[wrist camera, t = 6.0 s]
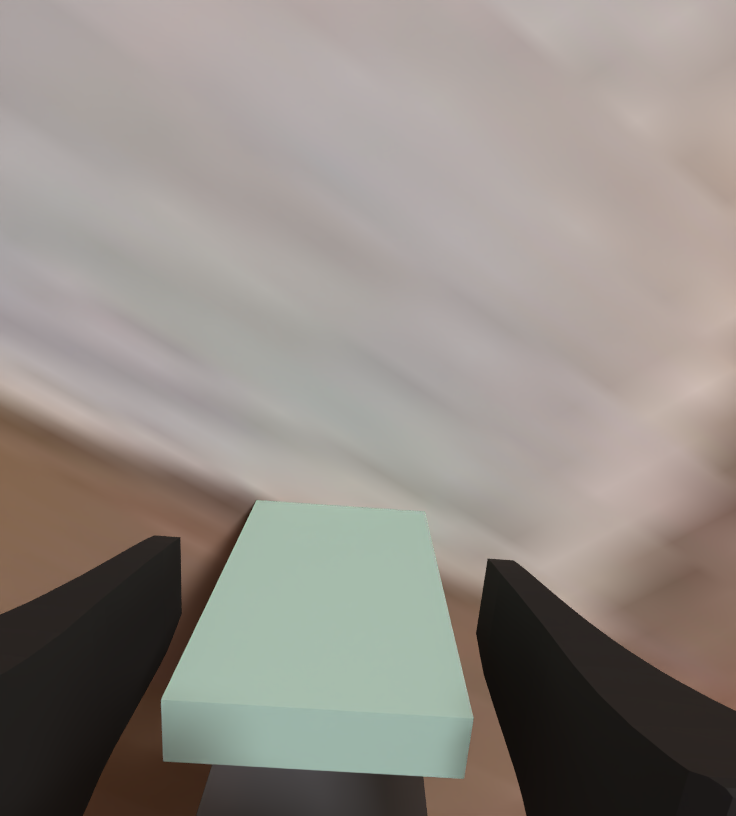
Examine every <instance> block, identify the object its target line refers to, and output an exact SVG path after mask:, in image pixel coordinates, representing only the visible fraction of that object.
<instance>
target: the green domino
mask: <svg viewBox="0 0 736 816" xmlns="http://www.w3.org/2000/svg"><path fill="white" fill-rule="evenodd" d="M161 716H162V743H163V761H165V762H182V763H200V764H217V765H234V766H252V767H269V768H286V769H304V770H321V771H338V772H356V773H373V774H390V775H408V776H425V777H442V778H460V779H464V775H465V769H466V763H467V756H468V750H469V744H470V738H471V731H472V725H473V719H474V718H473V714H472V710H471V706H470V701H469V697H468V693H467V689H466V684H465V680H464V676H463V672H462V667H461V663H460V659H459V655H458V651H457V646H456V642H455V638H454V634H453V629H452V625H451V621H450V617H449V612H448V608H447V604H446V600H445V595H444V591H443V587H442V583H441V579H440V574H439V570H438V566H437V562H436V557H435V553H434V549H433V545H432V540H431V536H430V532H429V528H428V523H427V519H426V515H425V512H421V511H406V510H392V509H377V508H363V507H348V506H333V505H319V504H304V503H289V502H275V501H260V500H256V502H255V504H254V507H253V509H252V511H251V513H250V515H249V517H248V519H247V521H246V523H245V525H244V527H243V529H242V532H241V534H240V536H239V538H238V540H237V542H236V544H235V546H234V548H233V550H232V552H231V555H230V557H229V559H228V561H227V563H226V565H225V567H224V569H223V571H222V573H221V575H220V577H219V580H218V582H217V584H216V586H215V588H214V590H213V592H212V594H211V596H210V598H209V600H208V603H207V605H206V607H205V609H204V611H203V613H202V615H201V617H200V619H199V621H198V623H197V625H196V628H195V630H194V632H193V634H192V636H191V638H190V640H189V642H188V644H187V646H186V648H185V651H184V653H183V655H182V657H181V659H180V661H179V663H178V665H177V667H176V669H175V671H174V673H173V676H172V678H171V680H170V682H169V684H168V686H167V688H166V690H165V692H164V694H163V696H162V699H161Z"/></svg>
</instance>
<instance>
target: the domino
mask: <svg viewBox="0 0 736 816" xmlns="http://www.w3.org/2000/svg"><path fill="white" fill-rule="evenodd" d="M196 816H427V808H426V799H425V790H424V780H423V776H408V775H390V774H373V773H356V772H338V771H321V770H304V769H286V768H269V767H252V766H234V765H217V764H212V767H211V770H210V773H209V776H208V780H207V783H206V786H205V789H204V792H203V795H202V799H201V802H200V805H199V808H198V811H197V815H196Z"/></svg>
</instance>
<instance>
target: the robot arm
mask: <svg viewBox="0 0 736 816" xmlns="http://www.w3.org/2000/svg"><path fill="white" fill-rule="evenodd" d="M181 614H182V608H181V550H180V537H167V536H152V537H150V538H148V539H146V540H144V541H142V542H140V543H138V544H136V545H134V546H133V547H131V548H129V549H127V550H126V551H124V552H122V553H120V554H119V555H117V556H115V557H113V558H112V559H110V560H108V561H106V562H104V563H103V564H101V565H99V566H97V567H96V568H94V569H92V570H90V571H88V572H87V573H85V574H83V575H81V576H79V577H77V578H75V579H73V580H72V581H70V582H68V583H66V584H64V585H62V586H60V587H58V588H56V589H54V590H52V591H50V592H48V593H46V594H44V595H42V596H40V597H38V598H36V599H34V600H32V601H30V602H28V603H26V604H24V605H21V606H19V607H17V608H15V609H12V610H10V611H8V612H5V613H3V614H1V615H0V816H83V814H84V812H85V809H86V807H87V805H88V802H89V800H90V798H91V796H92V793H93V791H94V789H95V787H96V784H97V782H98V780H99V777H100V775H101V773H102V771H103V769H104V767H105V765H106V763H107V761H108V759H109V757H110V755H111V753H112V751H113V749H114V747H115V745H116V743H117V742H118V740H119V738H120V736H121V734H122V733H123V731H124V729H125V727H126V725H127V724H128V722H129V720H130V718H131V716H132V715H133V713H134V711H135V709H136V707H137V706H138V704H139V702H140V700H141V698H142V697H143V695H144V693H145V691H146V689H147V688H148V686H149V684H150V682H151V680H152V679H153V677H154V675H155V673H156V671H157V669H158V668H159V666H160V664H161V662H162V660H163V658H164V656H165V654H166V652H167V650H168V647H169V645H170V642H171V640H172V638H173V635H174V632H175V630H176V627H177V624H178V622H179V619H180V617H181ZM476 635H477V640H478V646H479V652H480V657H481V662H482V667H483V672H484V676H485V680H486V683H487V686H488V689H489V692H490V696H491V699H492V702H493V705H494V708H495V711H496V714H497V717H498V720H499V724H500V727H501V730H502V733H503V736H504V739H505V742H506V745H507V748H508V751H509V754H510V757H511V760H512V763H513V766H514V770H515V773H516V776H517V780H518V783H519V787H520V790H521V794H522V798H523V802H524V807H525V811H526V815H527V816H736V711H735V710H733V709H730V708H728V707H726V706H724V705H722V704H720V703H718V702H716V701H714V700H712V699H710V698H708V697H707V696H705V695H703V694H701V693H699V692H697V691H696V690H694V689H692V688H690V687H688V686H686V685H685V684H683V683H681V682H679V681H677V680H675V679H674V678H672V677H670V676H669V675H667V674H665V673H663V672H662V671H660V670H658V669H657V668H655V667H653V666H652V665H650V664H649V663H647V662H646V661H644V660H642V659H641V658H639V657H638V656H636V655H635V654H633V653H631V652H630V651H628V650H627V649H625V648H624V647H622V646H621V645H620V644H618V643H617V642H615V641H614V640H612V639H611V638H610V637H608V636H607V635H606V634H604V633H603V632H601V631H600V630H599V629H597V628H596V627H595V626H593V625H592V624H591V623H589V622H588V621H587V620H586V619H584V618H583V617H582V616H580V615H579V614H578V613H577V612H575V611H574V610H573V609H572V608H570V607H569V606H568V605H567V604H566V603H564V602H563V601H562V600H561V599H559V598H558V597H557V596H556V595H555V594H554V593H552V592H551V591H550V590H549V589H548V588H546V587H545V586H544V585H543V584H542V583H541V582H539V581H538V580H537V579H536V578H535V577H534V576H532V575H531V574H530V573H529V572H528V571H527V570H525V569H524V568H523V567H522V566H520V565H519V564H518V563H516V562H515V561H513V560H499V559H488V561H487V567H486V573H485V580H484V586H483V593H482V599H481V606H480V612H479V618H478V625H477V631H476Z"/></svg>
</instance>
